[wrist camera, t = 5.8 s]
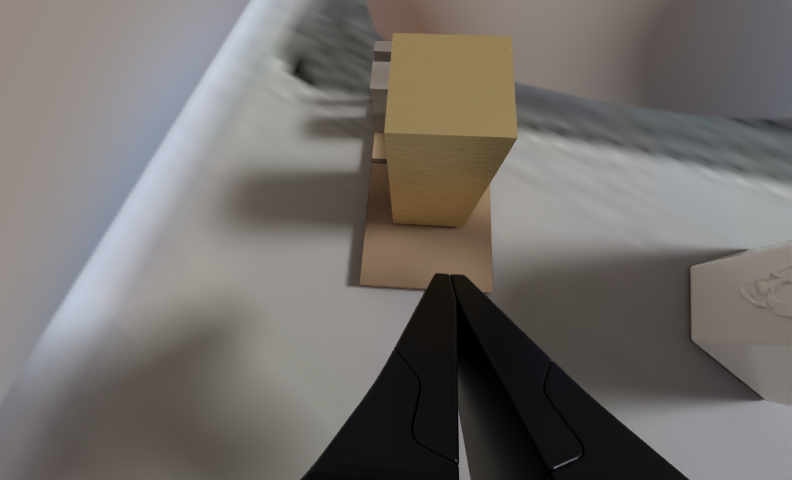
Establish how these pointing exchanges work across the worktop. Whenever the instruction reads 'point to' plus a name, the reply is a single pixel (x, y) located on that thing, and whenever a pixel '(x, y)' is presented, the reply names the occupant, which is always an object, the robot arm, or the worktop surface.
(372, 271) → the board
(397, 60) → the tan rectangular block
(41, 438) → the worktop surface
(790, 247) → the lidded container
